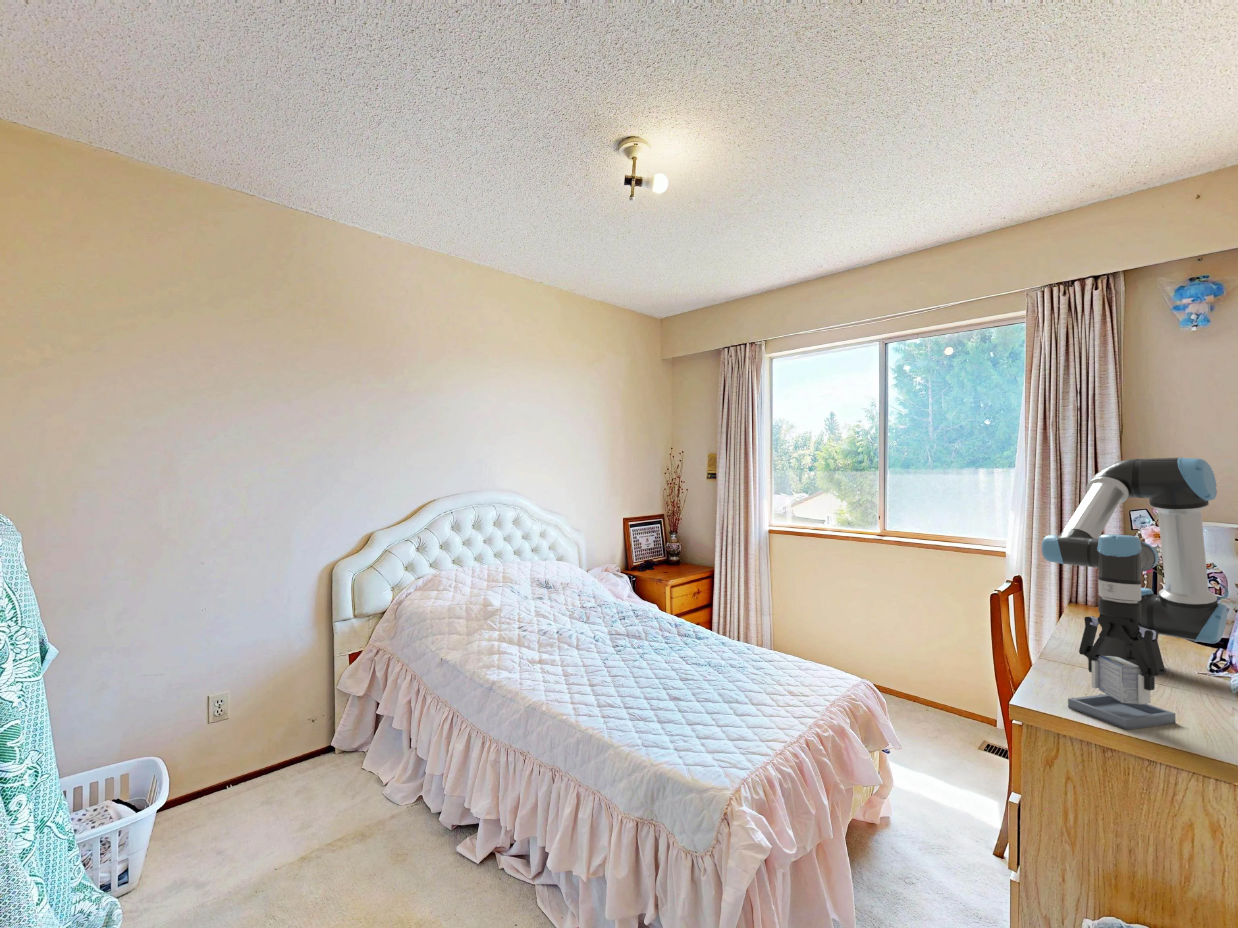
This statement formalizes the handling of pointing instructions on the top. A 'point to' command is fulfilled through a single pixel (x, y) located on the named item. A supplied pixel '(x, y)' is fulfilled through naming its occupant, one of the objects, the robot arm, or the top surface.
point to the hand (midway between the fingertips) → (1120, 694)
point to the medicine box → (1119, 679)
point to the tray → (1121, 712)
